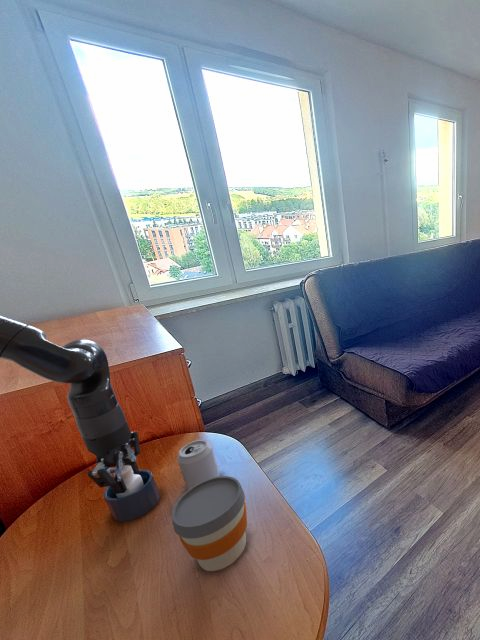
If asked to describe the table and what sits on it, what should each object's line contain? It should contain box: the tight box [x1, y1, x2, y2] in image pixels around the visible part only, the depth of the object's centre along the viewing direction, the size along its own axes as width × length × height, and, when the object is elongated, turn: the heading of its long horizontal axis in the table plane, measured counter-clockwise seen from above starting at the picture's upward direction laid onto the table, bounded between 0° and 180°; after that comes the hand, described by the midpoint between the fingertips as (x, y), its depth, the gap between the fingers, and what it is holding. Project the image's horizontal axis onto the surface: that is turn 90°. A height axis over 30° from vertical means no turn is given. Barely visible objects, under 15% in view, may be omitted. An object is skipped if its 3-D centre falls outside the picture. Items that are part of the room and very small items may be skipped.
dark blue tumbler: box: [103, 469, 161, 523], centre depth 82 cm, size 9×9×7 cm
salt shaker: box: [113, 464, 144, 498], centre depth 81 cm, size 4×4×10 cm
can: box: [176, 439, 220, 491], centre depth 87 cm, size 8×8×12 cm
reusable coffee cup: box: [171, 475, 248, 572], centre depth 70 cm, size 13×12×15 cm
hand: (127, 483), depth 80 cm, fingers closed on salt shaker, 4 cm apart
